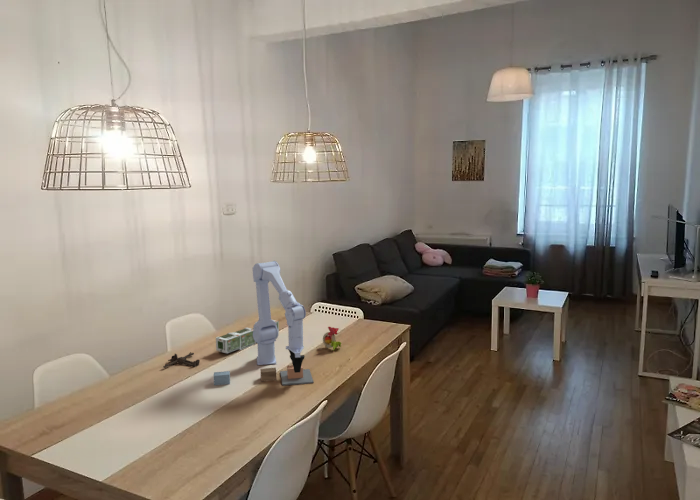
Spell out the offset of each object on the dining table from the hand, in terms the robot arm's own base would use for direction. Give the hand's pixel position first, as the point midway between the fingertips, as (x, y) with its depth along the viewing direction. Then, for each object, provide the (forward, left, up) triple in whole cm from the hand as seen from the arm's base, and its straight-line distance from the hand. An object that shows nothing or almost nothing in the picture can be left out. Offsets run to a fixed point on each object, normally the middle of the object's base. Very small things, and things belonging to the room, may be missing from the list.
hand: (296, 368), depth 208 cm
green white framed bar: (-45, -19, -4) cm, 49 cm away
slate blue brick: (-1, -29, -4) cm, 29 cm away
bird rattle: (-30, +19, -4) cm, 36 cm away
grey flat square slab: (0, 0, -4) cm, 4 cm away
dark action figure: (-25, -46, -5) cm, 52 cm away
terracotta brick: (0, 0, -3) cm, 3 cm away
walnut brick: (-1, -11, -4) cm, 12 cm away
